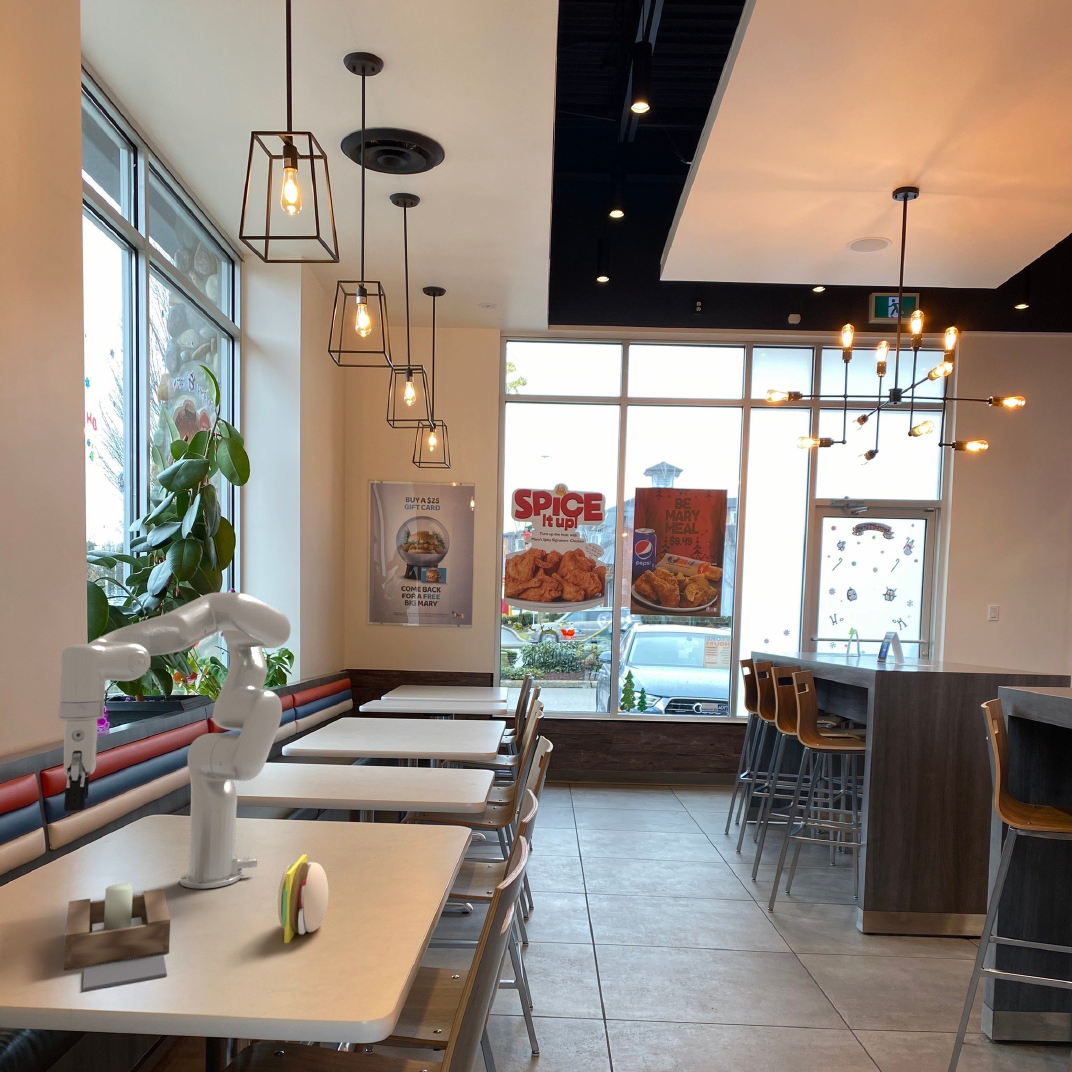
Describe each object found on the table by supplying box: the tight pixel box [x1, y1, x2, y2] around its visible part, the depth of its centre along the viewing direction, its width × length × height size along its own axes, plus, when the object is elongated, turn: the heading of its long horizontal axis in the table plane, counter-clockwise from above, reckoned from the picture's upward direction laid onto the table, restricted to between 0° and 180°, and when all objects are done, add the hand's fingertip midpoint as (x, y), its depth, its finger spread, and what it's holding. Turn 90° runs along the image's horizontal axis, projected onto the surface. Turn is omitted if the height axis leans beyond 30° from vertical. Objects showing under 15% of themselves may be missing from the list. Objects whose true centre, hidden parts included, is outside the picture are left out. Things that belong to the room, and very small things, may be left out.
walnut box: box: [63, 888, 171, 971], centre depth 151 cm, size 16×18×6 cm
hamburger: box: [277, 854, 329, 944], centre depth 157 cm, size 12×8×12 cm
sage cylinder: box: [104, 883, 134, 931], centre depth 151 cm, size 4×4×7 cm
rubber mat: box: [82, 954, 168, 992], centre depth 138 cm, size 12×8×1 cm, turn 117°
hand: (76, 804), depth 156 cm, fingers open, 9 cm apart
